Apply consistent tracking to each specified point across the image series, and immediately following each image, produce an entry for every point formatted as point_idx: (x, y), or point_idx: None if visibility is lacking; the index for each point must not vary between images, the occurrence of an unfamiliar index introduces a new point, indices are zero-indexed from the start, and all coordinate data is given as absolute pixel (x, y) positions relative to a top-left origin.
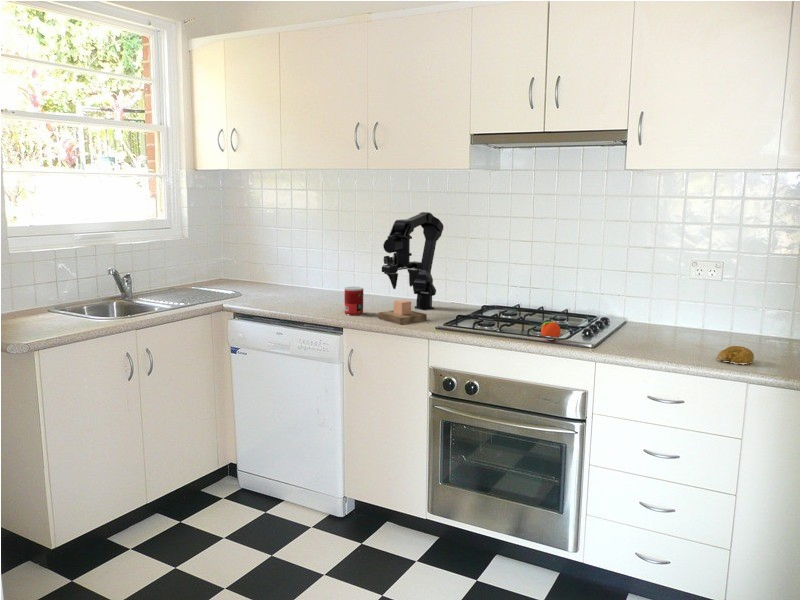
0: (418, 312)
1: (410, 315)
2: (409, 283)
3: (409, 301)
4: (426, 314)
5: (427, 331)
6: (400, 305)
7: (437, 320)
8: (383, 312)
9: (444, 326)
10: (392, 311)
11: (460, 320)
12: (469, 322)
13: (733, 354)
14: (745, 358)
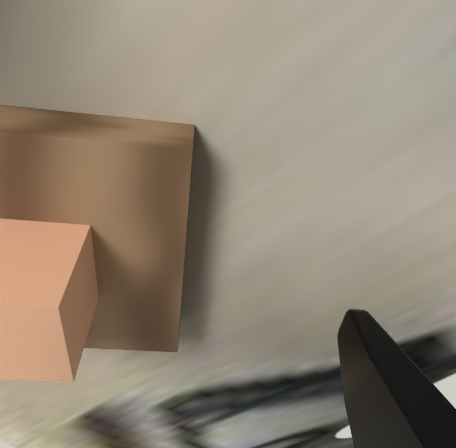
0: (175, 301)
1: None
2: (360, 348)
3: (58, 376)
4: (175, 350)
5: (13, 424)
6: None
7: (226, 347)
8: None
9: (146, 414)
10: (5, 166)
11: (311, 392)
12: (299, 421)
13: None
14: None
